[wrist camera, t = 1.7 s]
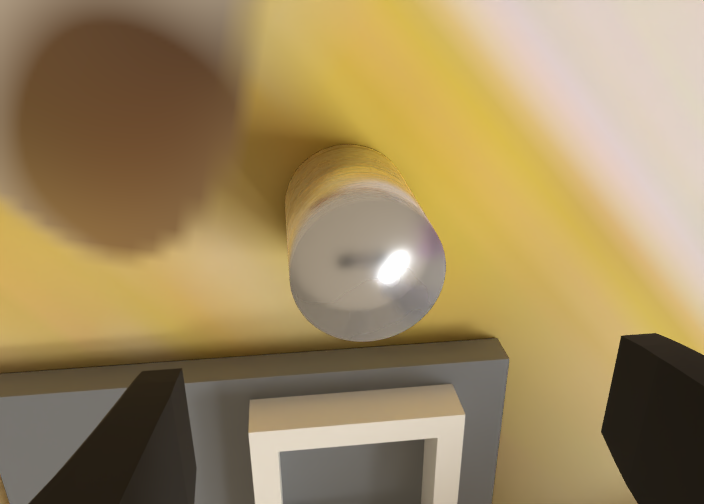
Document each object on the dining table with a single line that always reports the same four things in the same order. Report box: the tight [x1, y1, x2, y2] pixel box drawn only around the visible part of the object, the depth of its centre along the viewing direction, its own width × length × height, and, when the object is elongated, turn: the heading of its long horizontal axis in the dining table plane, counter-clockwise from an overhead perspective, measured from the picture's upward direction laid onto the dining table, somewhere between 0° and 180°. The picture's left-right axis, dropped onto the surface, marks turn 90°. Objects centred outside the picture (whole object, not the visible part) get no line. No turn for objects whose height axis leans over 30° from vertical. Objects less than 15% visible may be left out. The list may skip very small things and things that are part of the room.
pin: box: [285, 144, 446, 342], centre depth 17 cm, size 4×4×4 cm
